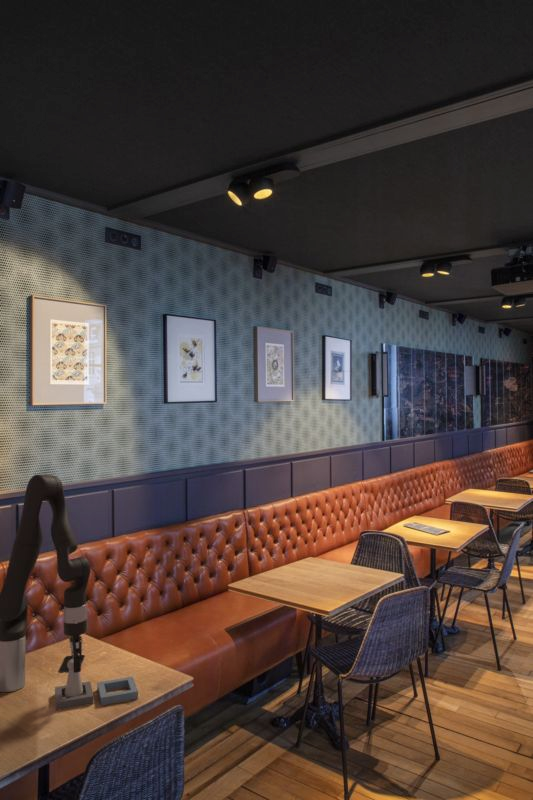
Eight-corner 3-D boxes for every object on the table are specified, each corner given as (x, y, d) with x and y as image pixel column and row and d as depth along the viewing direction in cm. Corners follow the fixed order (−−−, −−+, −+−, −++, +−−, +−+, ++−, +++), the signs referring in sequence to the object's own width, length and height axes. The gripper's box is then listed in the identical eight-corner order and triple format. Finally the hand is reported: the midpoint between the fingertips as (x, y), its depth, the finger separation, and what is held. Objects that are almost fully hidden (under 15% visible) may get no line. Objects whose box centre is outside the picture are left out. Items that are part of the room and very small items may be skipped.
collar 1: (55, 710, 187) (55, 702, 187) (54, 694, 198) (55, 687, 198) (93, 703, 191) (93, 696, 191) (90, 688, 202) (90, 681, 202)
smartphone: (85, 654, 231) (79, 670, 216) (85, 656, 231) (79, 672, 216) (65, 655, 230) (57, 671, 215) (65, 657, 230) (57, 674, 215)
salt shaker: (60, 700, 193) (61, 661, 194) (73, 693, 198) (74, 655, 199) (73, 704, 191) (73, 664, 191) (86, 697, 196) (86, 658, 196)
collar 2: (100, 705, 190) (100, 697, 190) (97, 689, 201) (97, 682, 201) (138, 698, 194) (138, 691, 194) (132, 683, 206) (132, 676, 206)
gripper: (62, 613, 201) (63, 661, 201) (64, 627, 188) (65, 677, 187) (84, 610, 204) (85, 657, 203) (89, 623, 191) (90, 673, 190)
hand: (76, 666), depth 195 cm, fingers open, 8 cm apart
